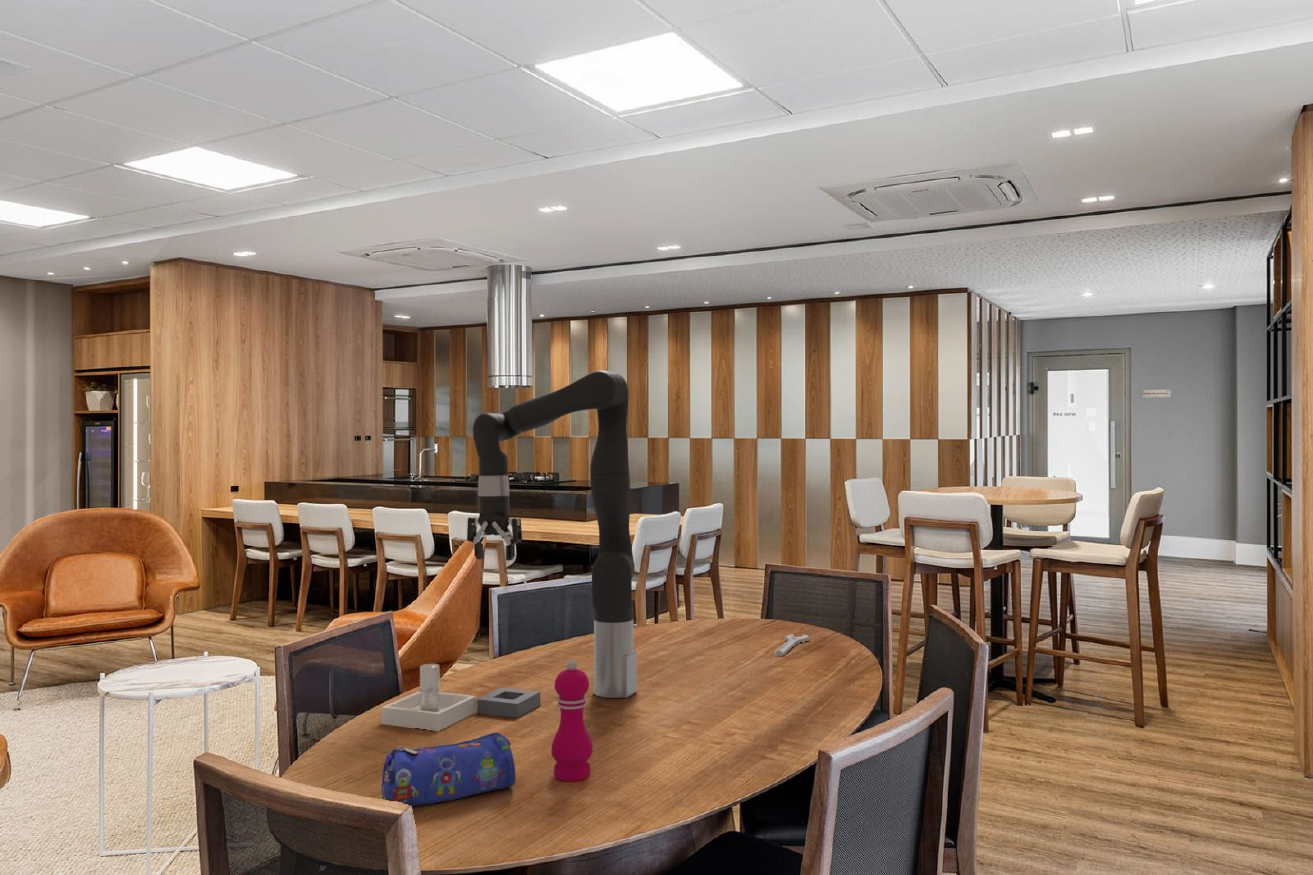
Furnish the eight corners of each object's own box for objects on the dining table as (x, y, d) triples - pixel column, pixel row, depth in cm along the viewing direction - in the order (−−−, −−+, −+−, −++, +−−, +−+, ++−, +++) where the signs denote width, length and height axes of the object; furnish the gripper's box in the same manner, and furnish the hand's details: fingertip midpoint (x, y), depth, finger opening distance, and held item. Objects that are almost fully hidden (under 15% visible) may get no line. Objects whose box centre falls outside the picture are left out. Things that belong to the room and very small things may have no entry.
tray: (476, 712, 193) (476, 696, 193) (438, 731, 180) (438, 714, 180) (422, 705, 198) (422, 690, 198) (381, 724, 185) (381, 707, 185)
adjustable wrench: (782, 659, 242) (782, 652, 242) (760, 656, 245) (760, 650, 245) (810, 640, 265) (810, 634, 265) (790, 638, 268) (790, 632, 268)
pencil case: (384, 820, 137) (384, 758, 137) (374, 800, 145) (374, 742, 145) (521, 794, 147) (521, 736, 147) (505, 777, 155) (505, 722, 155)
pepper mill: (552, 768, 159) (551, 656, 159) (592, 767, 159) (592, 655, 160) (550, 783, 152) (550, 666, 152) (593, 782, 152) (592, 665, 152)
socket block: (540, 705, 198) (540, 691, 198) (517, 718, 188) (517, 703, 188) (501, 700, 201) (501, 687, 201) (477, 713, 192) (477, 699, 192)
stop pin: (443, 711, 190) (443, 664, 190) (432, 716, 186) (432, 669, 186) (427, 709, 191) (427, 663, 192) (416, 714, 188) (416, 667, 188)
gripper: (460, 494, 218) (461, 560, 218) (511, 494, 213) (512, 562, 213) (477, 493, 225) (478, 557, 225) (526, 493, 220) (527, 558, 220)
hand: (494, 559), depth 219 cm, fingers open, 8 cm apart
